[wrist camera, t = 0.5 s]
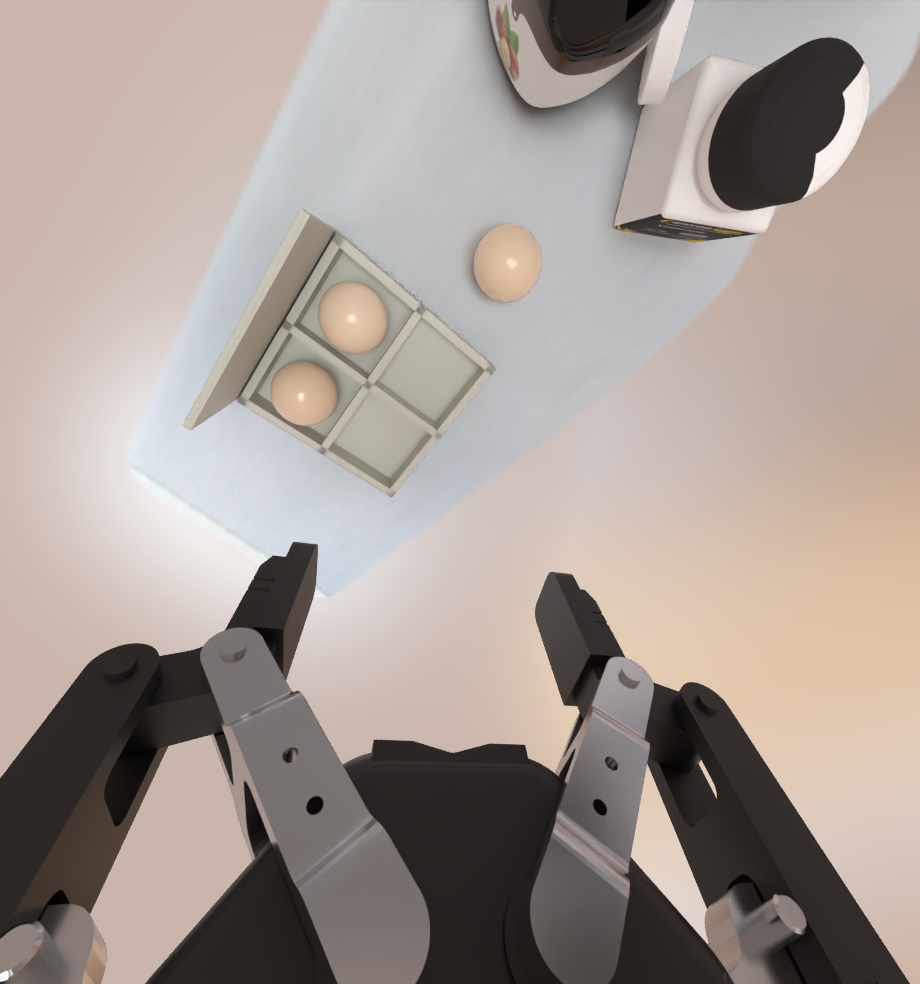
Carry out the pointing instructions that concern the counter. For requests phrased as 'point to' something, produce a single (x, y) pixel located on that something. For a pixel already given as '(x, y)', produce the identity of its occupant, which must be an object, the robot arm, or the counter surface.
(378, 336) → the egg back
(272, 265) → the egg tray
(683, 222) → the medicine bottle
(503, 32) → the spread jar
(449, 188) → the counter surface
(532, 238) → the egg
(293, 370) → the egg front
